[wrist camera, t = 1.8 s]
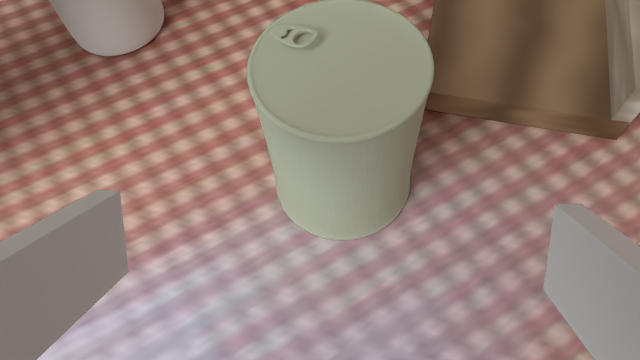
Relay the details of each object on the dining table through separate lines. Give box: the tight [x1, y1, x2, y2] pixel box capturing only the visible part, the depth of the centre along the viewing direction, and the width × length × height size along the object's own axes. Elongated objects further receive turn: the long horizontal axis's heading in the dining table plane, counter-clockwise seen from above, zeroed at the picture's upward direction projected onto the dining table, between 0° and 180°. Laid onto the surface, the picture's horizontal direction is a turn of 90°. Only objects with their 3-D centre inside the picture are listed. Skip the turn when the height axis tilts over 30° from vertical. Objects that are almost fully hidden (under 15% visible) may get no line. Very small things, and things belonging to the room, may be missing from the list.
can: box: [247, 0, 434, 240], centre depth 29 cm, size 9×9×12 cm
